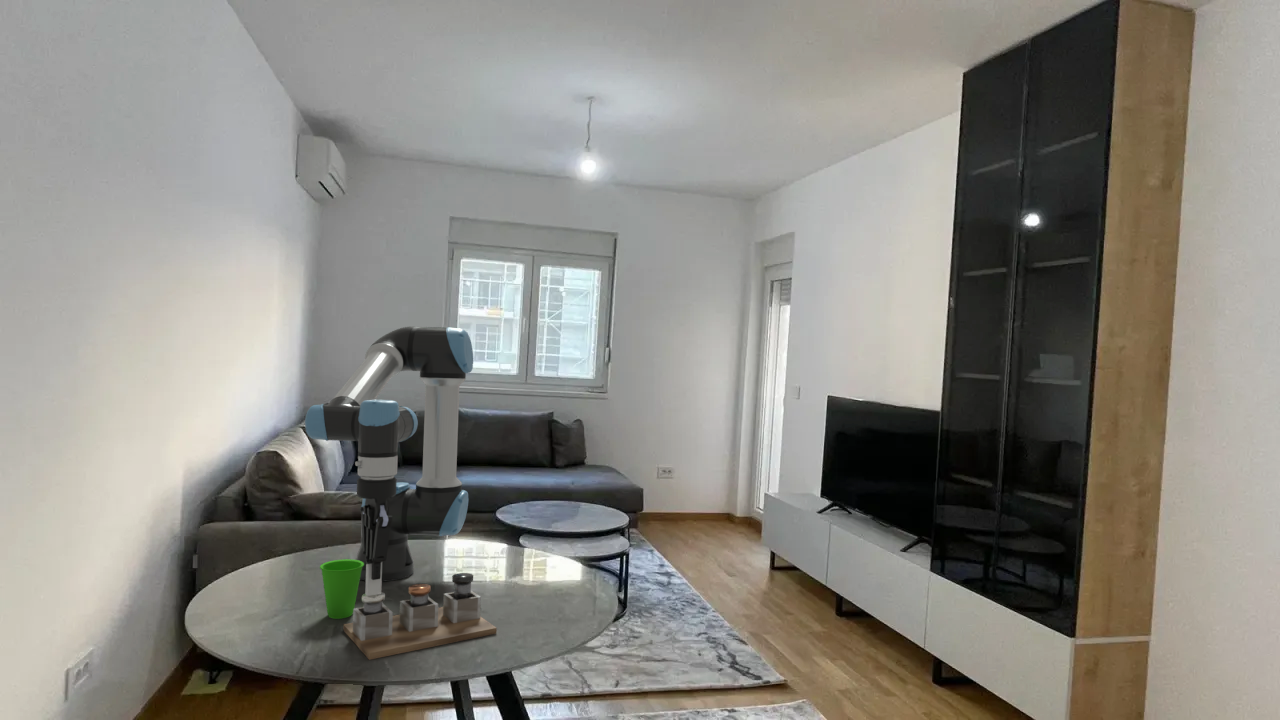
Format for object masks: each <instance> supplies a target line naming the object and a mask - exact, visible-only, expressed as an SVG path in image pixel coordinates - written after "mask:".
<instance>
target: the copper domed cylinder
mask: <svg viewBox="0 0 1280 720" xmlns="http://www.w3.org/2000/svg"><path fill="white" fill-rule="evenodd" d="M431 587H432V585H430V584H426V583H416V584H411V585H410V586H409V587H408V594H409V595H410V598H409V599H410V606H411V607H412V608H413V607H419V606H425V605H428V597H429V593H430V592H431Z"/></svg>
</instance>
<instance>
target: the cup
mask: <svg viewBox="0 0 1280 720" xmlns="http://www.w3.org/2000/svg"><path fill="white" fill-rule="evenodd" d="M363 566H364V563H363V562H362V561H359V560H356V559H353V558H352V559H351V558H350V559H349V558H348V559H335V560H330V561H325V562H324V563H322V564H321V565H320V566H319V570H321V574H322V575H321V576H322V583H323V590H324V597H325V603H326V610H327V615H328V618H331V619H333V620H334V619H337V620H339V619H346V618H349V617H351V616H353V609H355V607H356V606H355V605H356V600H357V596H358V590H359V586H360V576H361V570H362V567H363Z"/></svg>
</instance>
